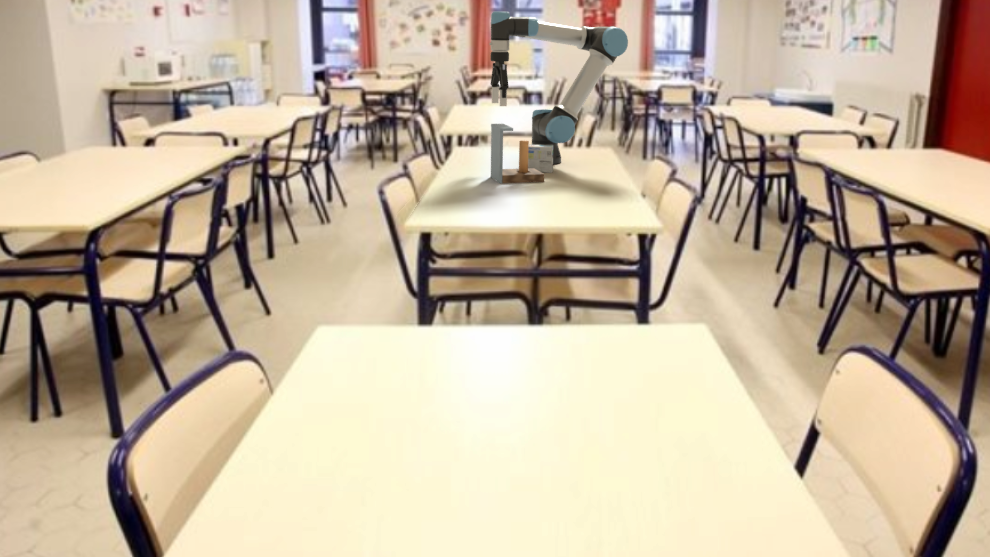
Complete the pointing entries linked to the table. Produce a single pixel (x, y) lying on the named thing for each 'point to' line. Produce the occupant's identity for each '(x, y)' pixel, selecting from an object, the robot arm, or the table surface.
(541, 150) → the light bulb box
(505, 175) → the socket board
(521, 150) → the peg
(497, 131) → the grey l-shaped bracket
